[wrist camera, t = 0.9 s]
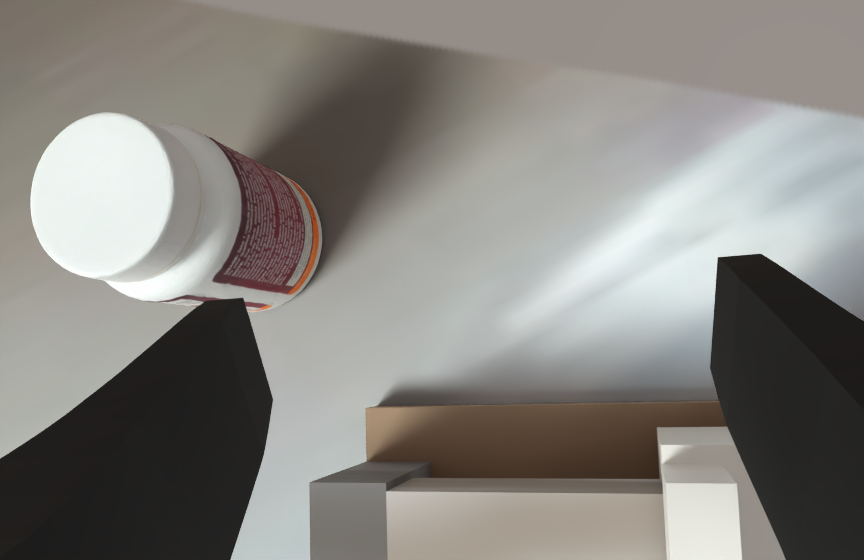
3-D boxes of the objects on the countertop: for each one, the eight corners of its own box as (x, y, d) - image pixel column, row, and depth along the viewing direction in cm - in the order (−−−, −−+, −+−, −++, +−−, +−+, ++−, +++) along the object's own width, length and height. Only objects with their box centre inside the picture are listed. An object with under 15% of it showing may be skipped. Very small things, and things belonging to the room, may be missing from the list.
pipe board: (1400, 648, 19) (1684, 756, 14) (380, 603, 25) (312, 666, 20) (1361, 389, 20) (1620, 399, 15) (376, 406, 26) (309, 417, 21)
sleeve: (790, 618, 21) (871, 758, 13) (667, 612, 21) (680, 743, 14) (776, 426, 21) (847, 460, 14) (657, 427, 22) (664, 460, 15)
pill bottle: (280, 144, 28) (131, 54, 19) (351, 261, 26) (224, 217, 18) (172, 225, 28) (-16, 170, 20) (237, 340, 27) (66, 332, 19)
